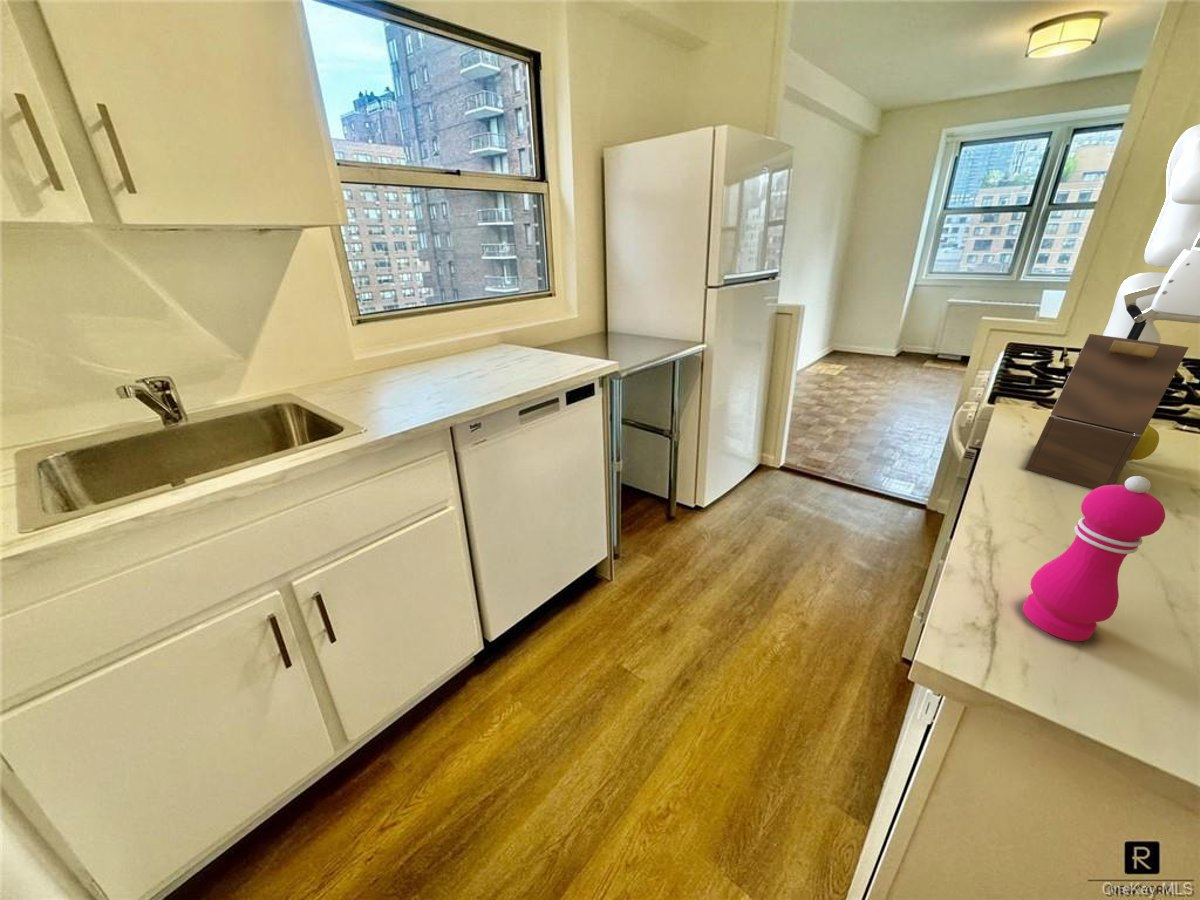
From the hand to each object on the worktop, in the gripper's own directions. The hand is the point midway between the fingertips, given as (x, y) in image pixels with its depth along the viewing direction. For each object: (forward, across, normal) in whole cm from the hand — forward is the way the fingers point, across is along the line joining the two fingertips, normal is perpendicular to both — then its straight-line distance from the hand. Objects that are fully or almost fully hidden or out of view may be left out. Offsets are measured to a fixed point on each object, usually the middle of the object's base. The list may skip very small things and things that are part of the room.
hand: (1171, 350), depth 82 cm
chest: (+22, +5, +7) cm, 24 cm away
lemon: (+23, -2, -5) cm, 23 cm away
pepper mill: (+23, 0, +58) cm, 62 cm away
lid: (+5, +5, +10) cm, 12 cm away
